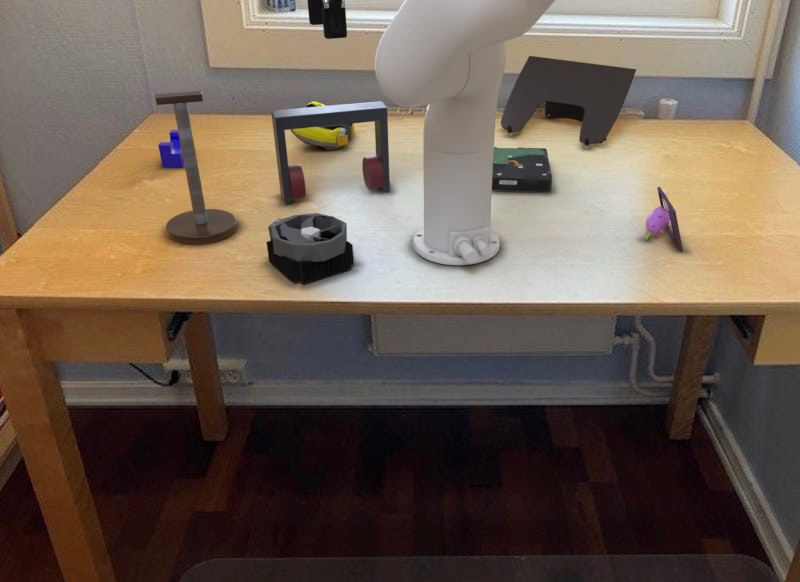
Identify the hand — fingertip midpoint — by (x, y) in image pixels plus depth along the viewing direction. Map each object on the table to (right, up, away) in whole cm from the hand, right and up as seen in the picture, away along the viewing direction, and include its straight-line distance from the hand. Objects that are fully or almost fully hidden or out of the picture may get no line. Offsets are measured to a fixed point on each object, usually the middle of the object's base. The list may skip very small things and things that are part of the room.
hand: (327, 30), depth 114 cm
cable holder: (-31, -13, +25) cm, 42 cm away
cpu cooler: (-1, -35, -6) cm, 36 cm away
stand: (-19, -29, +2) cm, 35 cm away
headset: (-1, -21, +14) cm, 25 cm away
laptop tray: (+40, -2, +45) cm, 60 cm away
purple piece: (+49, -30, +3) cm, 58 cm away
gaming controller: (-7, -7, +35) cm, 37 cm away
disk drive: (+30, -16, +23) cm, 41 cm away
